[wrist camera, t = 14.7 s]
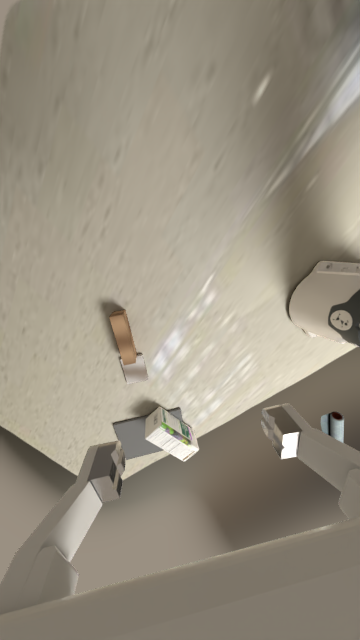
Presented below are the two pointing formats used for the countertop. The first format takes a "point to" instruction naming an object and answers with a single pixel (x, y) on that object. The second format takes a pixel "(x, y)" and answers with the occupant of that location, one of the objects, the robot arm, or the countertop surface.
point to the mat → (138, 436)
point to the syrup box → (170, 434)
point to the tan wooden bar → (128, 349)
